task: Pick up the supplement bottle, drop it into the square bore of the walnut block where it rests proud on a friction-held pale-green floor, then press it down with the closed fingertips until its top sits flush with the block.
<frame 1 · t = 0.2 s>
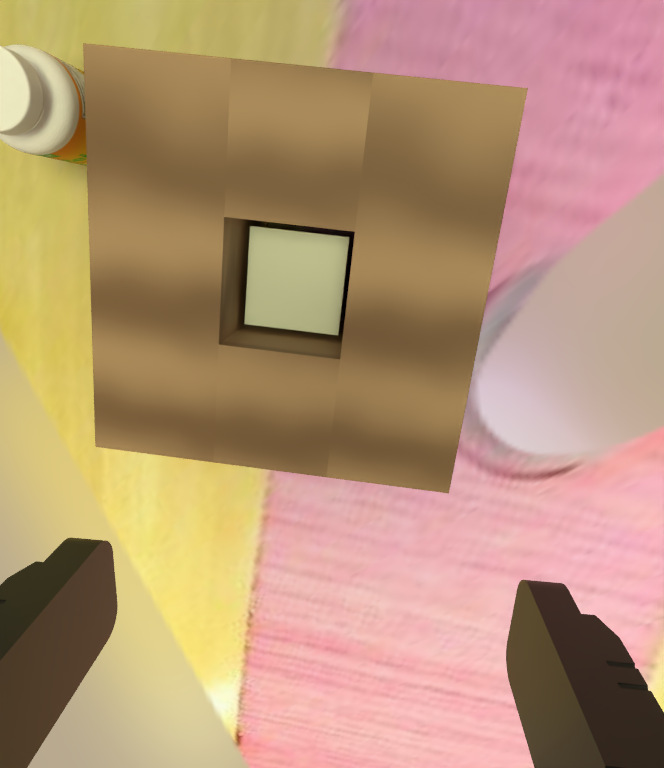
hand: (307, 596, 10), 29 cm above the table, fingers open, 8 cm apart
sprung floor: (296, 281, 31), point 6 cm above the table, slide at 6.0 cm
walnut block: (309, 271, 37), on the table
supplement bottle: (92, 124, 35), on the table
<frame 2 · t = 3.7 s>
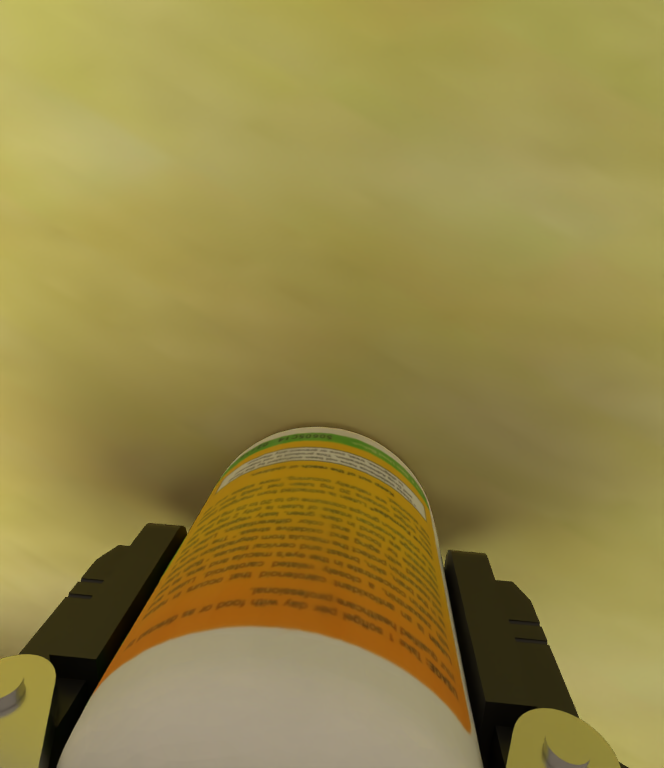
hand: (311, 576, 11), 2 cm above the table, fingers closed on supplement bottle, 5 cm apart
supplement bottle: (322, 518, 13), on the table, touching gripper
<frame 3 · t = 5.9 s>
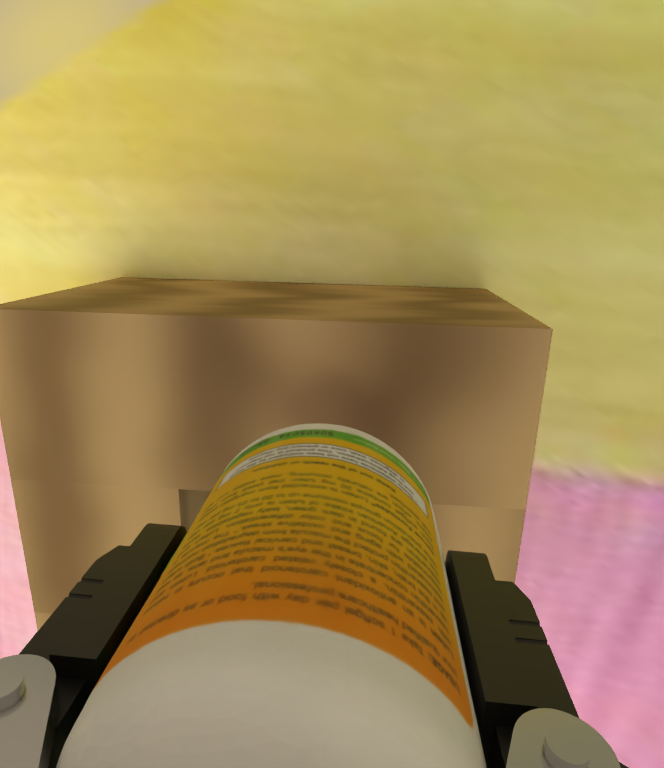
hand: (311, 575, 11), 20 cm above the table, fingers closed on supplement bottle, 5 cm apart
walnut block: (298, 451, 32), on the table
supplement bottle: (323, 515, 13), point 17 cm above the table, touching gripper
when the fingers open (12 cm above the table, at t = 8.2 s): supplement bottle drops 9 cm, point 1 cm above the table.
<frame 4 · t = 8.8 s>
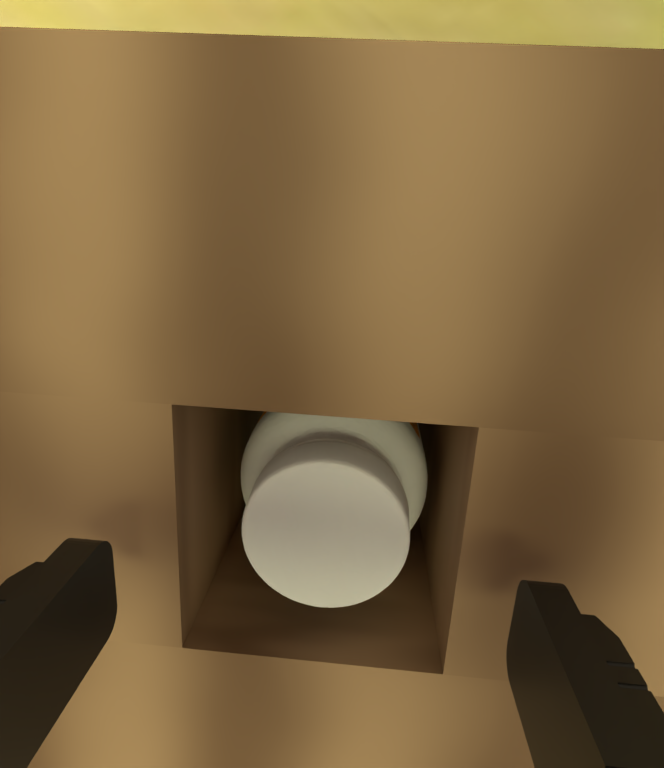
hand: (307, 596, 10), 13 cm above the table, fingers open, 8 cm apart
walnut block: (343, 394, 22), on the table
supplement bottle: (345, 399, 22), point 1 cm above the table
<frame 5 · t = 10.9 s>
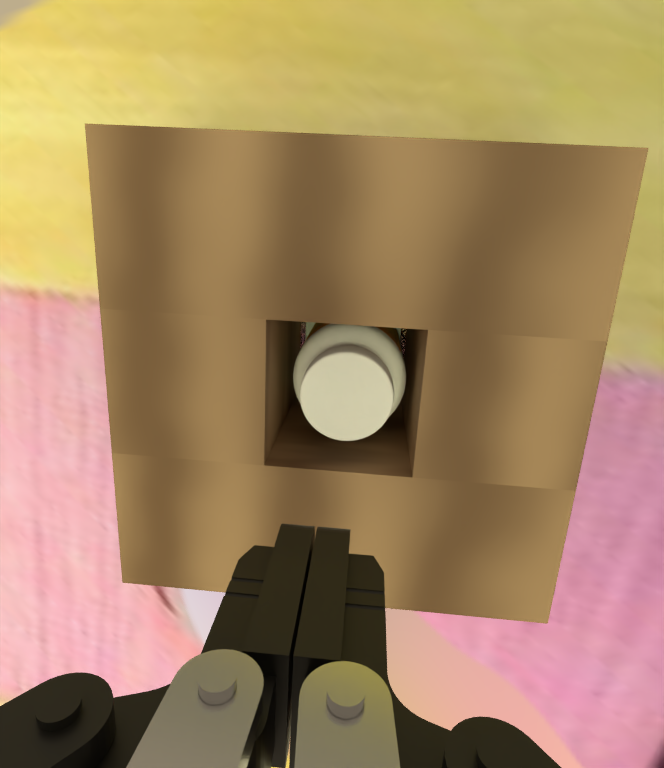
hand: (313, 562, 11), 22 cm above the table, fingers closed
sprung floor: (352, 344, 32), resting in walnut block, slide at -0.1 cm, touching supplement bottle
walnut block: (352, 342, 32), on the table
supplement bottle: (354, 345, 31), point 1 cm above the table, touching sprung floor
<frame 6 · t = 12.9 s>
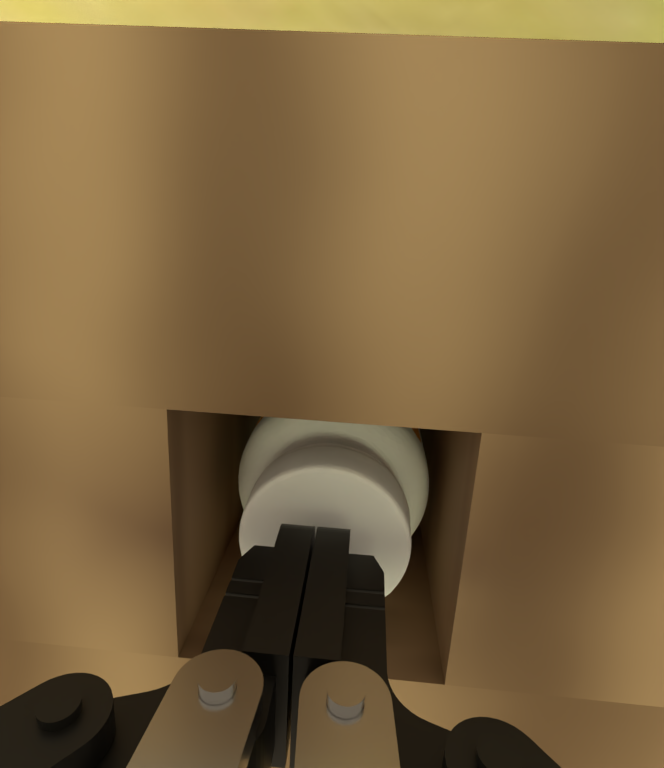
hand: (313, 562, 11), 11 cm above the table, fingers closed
walnut block: (342, 397, 22), on the table
supplement bottle: (345, 402, 21), point 1 cm above the table, touching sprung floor
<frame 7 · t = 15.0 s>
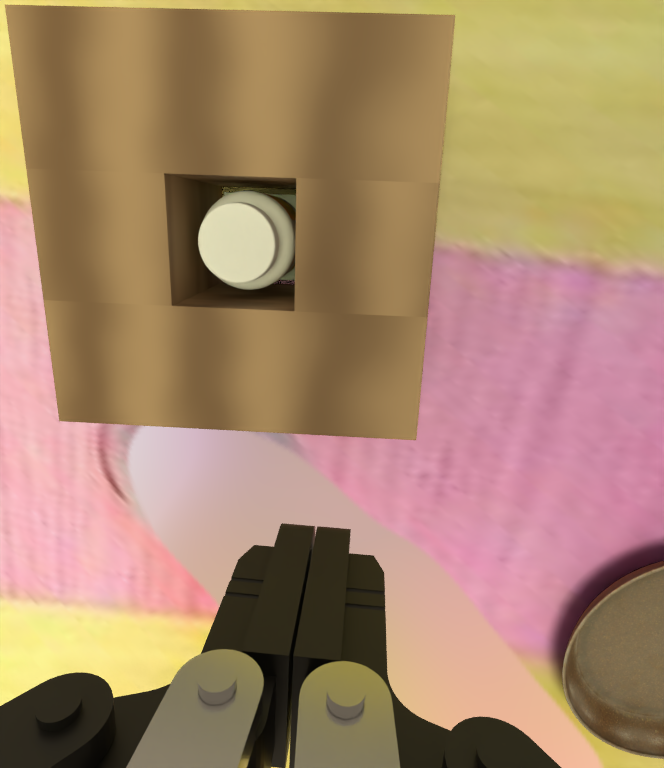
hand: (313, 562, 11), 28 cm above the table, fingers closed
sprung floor: (267, 237, 36), resting in walnut block, slide at -0.1 cm, touching supplement bottle
walnut block: (268, 237, 37), on the table
supplement bottle: (268, 237, 36), point 1 cm above the table, touching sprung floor
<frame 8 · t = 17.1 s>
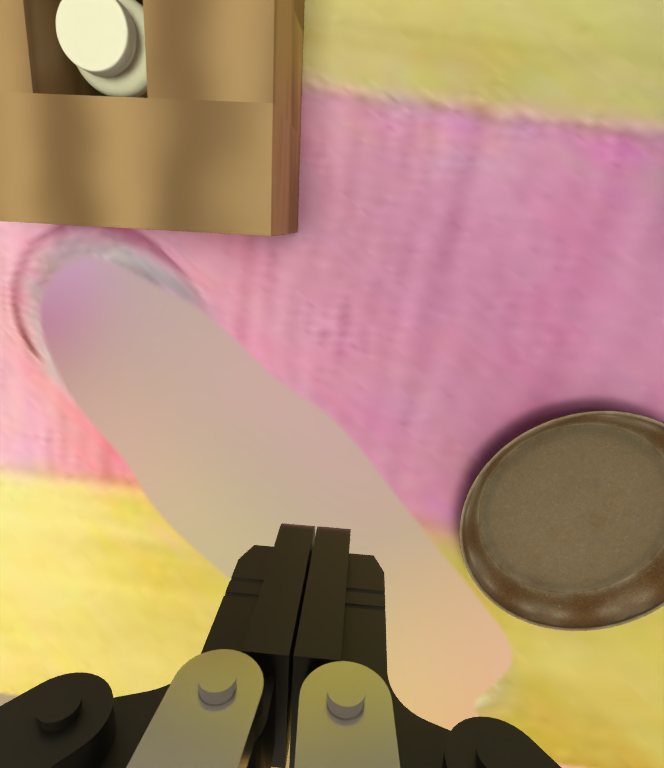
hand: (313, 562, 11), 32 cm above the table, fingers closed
plant saucer: (573, 508, 46), on the table
walnut block: (164, 80, 38), on the table
supplement bottle: (162, 77, 37), point 1 cm above the table, touching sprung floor
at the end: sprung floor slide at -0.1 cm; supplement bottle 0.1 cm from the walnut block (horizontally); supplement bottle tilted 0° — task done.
